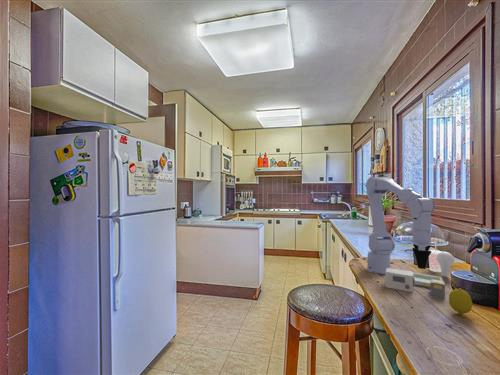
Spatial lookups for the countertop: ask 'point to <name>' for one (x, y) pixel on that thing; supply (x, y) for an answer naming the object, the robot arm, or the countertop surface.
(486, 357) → the countertop surface
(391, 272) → the control box
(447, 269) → the lightbulb
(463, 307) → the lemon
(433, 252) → the beverage cup
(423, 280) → the parts tray
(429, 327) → the countertop surface
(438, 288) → the block
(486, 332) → the countertop surface
